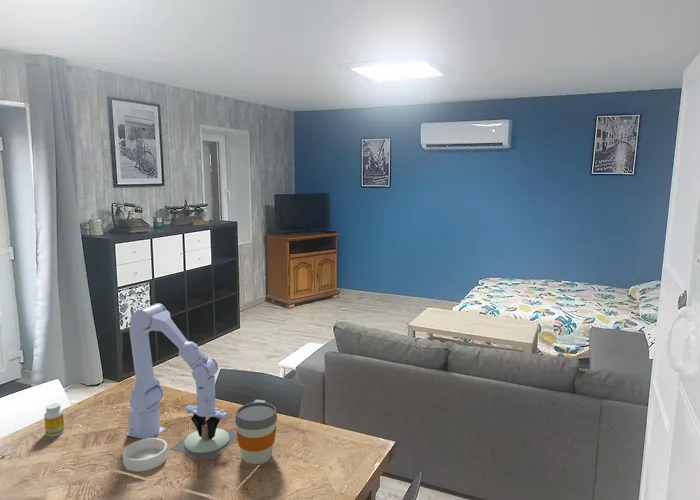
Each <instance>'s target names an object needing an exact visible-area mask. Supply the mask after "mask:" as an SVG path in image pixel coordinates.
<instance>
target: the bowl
mask: <svg viewBox="0 0 700 500" xmlns="http://www.w3.org/2000/svg"><path fill="white" fill-rule="evenodd" d="M168 456H169V449H168V443H167V442H166V440H165V439H161V438H157V437H153V438H146V439H143V438H141V439H140V440H136V441H133V442H132V443H130V444H128V445H127V446H126V447H125V448H124V450H123V451H122V463H123V466H124V468H125V469H126V470H128V471H132V472H145V471H149V470H153V469H155V468H158V467H160V466H161V465H162V464H163V463H165V462H166V461H167V459H168Z"/></svg>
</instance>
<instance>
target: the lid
mask: <svg viewBox="0 0 700 500" xmlns="http://www.w3.org/2000/svg"><path fill="white" fill-rule="evenodd" d="M225 430H226V429H225ZM225 430H224V429H222V428H218V427H217V428H216V432H215V437H214V438H212V439H209V435H208V427H207V424H206V421H205V423H203V424H202V437H199V434H198V431H195V430H194V431H195V432H193V431H192V432H193V433H192V432H191V433H189V434H190V435H189V434H188V435H187V436H185V437H186V439H185V441H184V446H185V448H186V449H187V450H188V451H190V452H193V453H210V452H214V451H217V450H219V449H221V448H223V447H224V446H226V445H227V443H228V442H229V434H228V432H226V431H227V430H226V431H225Z"/></svg>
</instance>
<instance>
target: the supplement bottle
mask: <svg viewBox="0 0 700 500" xmlns="http://www.w3.org/2000/svg"><path fill="white" fill-rule="evenodd" d="M61 407H62V406H61V404H60V403H58V402H53V403H51V404H48V405H46V407H45V411H46V412H45V413H44V415H43V418H44V419H43V420H44V432H45V435H46V436H47V437H57V436H59V435H61V434H63V433H64V432H65V424H64V423H65V422H64V410H63V409H61Z"/></svg>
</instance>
